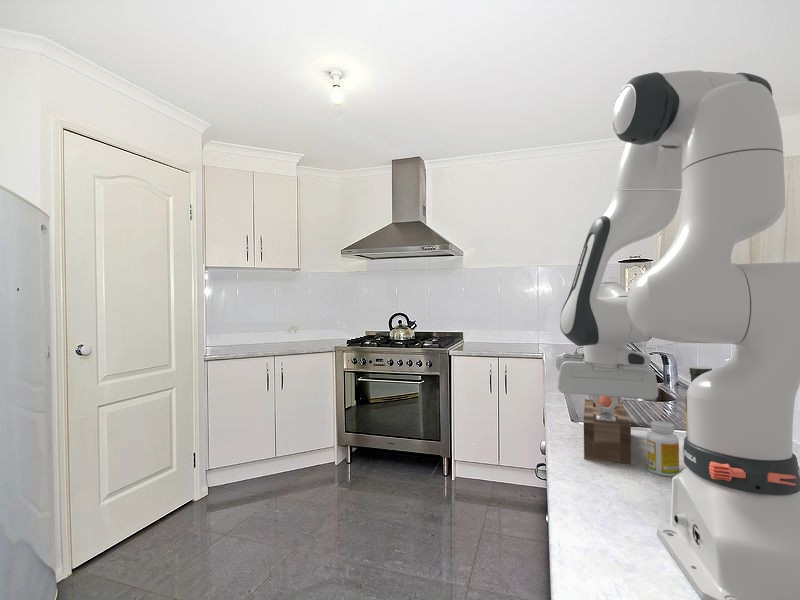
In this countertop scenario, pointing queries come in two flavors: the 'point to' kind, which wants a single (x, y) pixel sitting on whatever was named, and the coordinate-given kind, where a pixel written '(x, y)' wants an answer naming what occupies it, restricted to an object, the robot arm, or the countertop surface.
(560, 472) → the countertop surface
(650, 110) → the robot arm
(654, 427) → the supplement bottle
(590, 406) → the plug block
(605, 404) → the pink oval piece
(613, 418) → the steel plug
